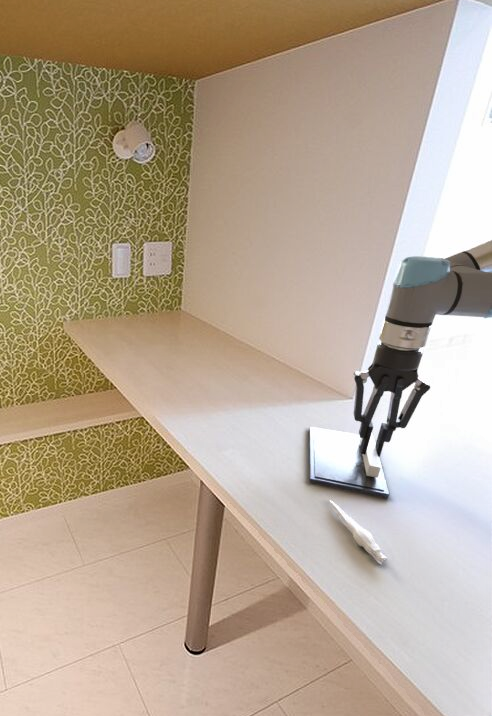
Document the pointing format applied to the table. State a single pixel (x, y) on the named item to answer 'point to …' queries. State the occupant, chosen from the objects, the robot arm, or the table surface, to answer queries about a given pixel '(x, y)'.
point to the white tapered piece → (360, 535)
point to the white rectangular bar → (371, 459)
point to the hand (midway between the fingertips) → (369, 452)
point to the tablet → (341, 463)
